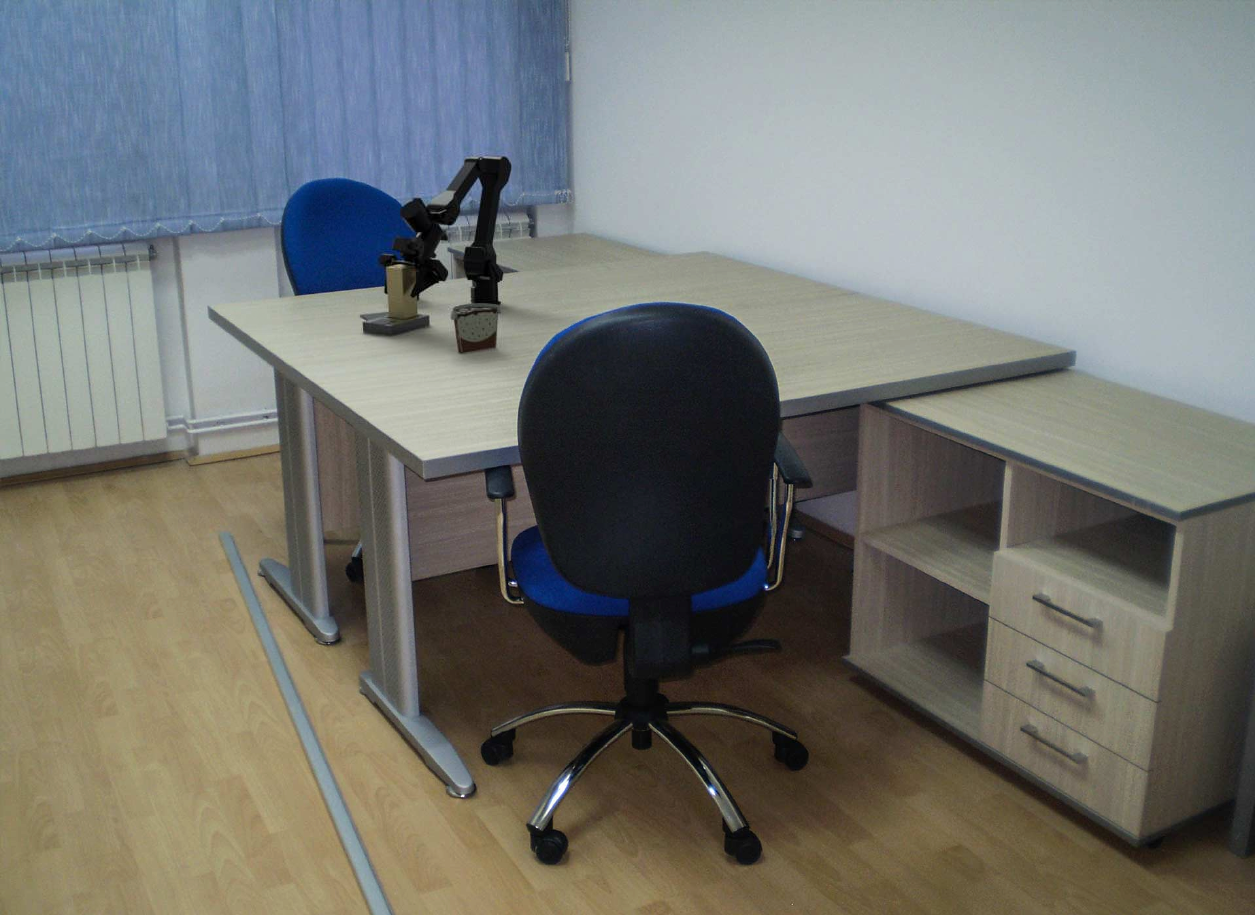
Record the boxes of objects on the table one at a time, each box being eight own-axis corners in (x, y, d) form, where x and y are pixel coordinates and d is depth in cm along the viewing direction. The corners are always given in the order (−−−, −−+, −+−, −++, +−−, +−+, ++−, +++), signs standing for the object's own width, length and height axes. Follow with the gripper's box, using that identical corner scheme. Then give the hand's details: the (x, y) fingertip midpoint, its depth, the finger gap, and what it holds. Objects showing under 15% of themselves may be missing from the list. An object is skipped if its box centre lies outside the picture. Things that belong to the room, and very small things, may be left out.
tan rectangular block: (402, 323, 320) (399, 264, 315) (418, 325, 317) (415, 266, 312) (389, 327, 316) (386, 267, 311) (405, 329, 313) (401, 269, 308)
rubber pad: (397, 312, 332) (396, 310, 332) (409, 319, 324) (409, 318, 324) (359, 316, 328) (359, 314, 328) (371, 323, 319) (371, 322, 319)
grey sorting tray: (402, 321, 322) (401, 311, 321) (429, 325, 318) (429, 314, 317) (363, 331, 311) (362, 321, 310) (391, 336, 306) (390, 325, 305)
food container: (487, 342, 300) (485, 300, 297) (501, 347, 296) (500, 304, 292) (442, 350, 293) (440, 307, 290) (456, 355, 288) (454, 311, 285)
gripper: (380, 221, 316) (352, 272, 311) (438, 226, 307) (411, 279, 302) (403, 248, 325) (376, 298, 320) (460, 254, 316) (434, 306, 311)
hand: (398, 295), depth 313 cm, fingers open, 8 cm apart
